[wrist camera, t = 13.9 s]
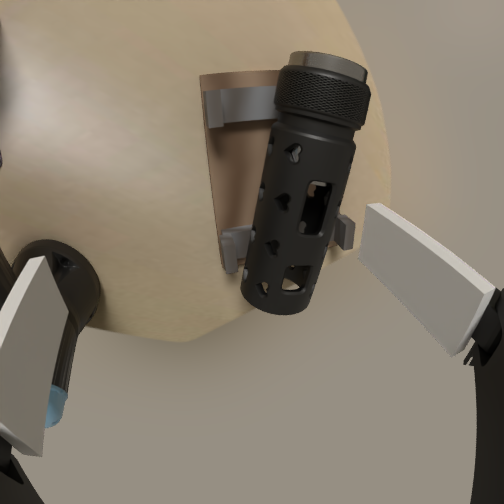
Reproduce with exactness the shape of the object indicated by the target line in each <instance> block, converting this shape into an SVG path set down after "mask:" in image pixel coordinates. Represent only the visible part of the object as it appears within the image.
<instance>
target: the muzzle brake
mask: <svg viewBox="0 0 504 504" xmlns="http://www.w3.org/2000/svg"><path fill="white" fill-rule="evenodd" d="M367 75H368V72H367V70H366V69H365V68H364V67H362V66H361V65H359V64H357V63H355V62H353V61H350V60H347V59H344V58H341V57H338V56H334V55H330V54H325V53H320V52H312V51H297V52H293V53H291V55H290V59H289V64H288V65H286V66H284V67H283V68H282V69H281V70H280V72H279V76H278V81H277V86H276V91H275V96H274V101H273V103H274V104H275V109H276V110H277V111H278V112H279V115H278V121H277V122H275V123H274V124H273V125H272V126H271V131H270V136H269V141H268V147H267V152H266V157H265V162H264V167H263V172H262V177H261V183H260V188H259V193H258V198H257V203H256V209H255V214H254V219H253V224H252V229H251V235H250V240H249V245H248V250H247V256H246V261H245V266H244V271H243V277H242V282H241V288H240V289H241V293H242V295H243V297H244V298H245V299H246V300H247V301H248V302H249V303H250V304H251V305H253V306H254V307H256V308H257V309H260V310H262V311H264V312H267V313H271V314H276V315H292V314H296V313H299V312H301V311H303V310H304V309H305V308H307V306H308V304H309V302H310V299H311V296H312V294H313V291H314V287H315V284H316V282H317V279H318V276H319V273H320V270H321V267H322V264H323V261H324V258H325V255H326V252H327V248H328V245H329V242H330V239H331V236H332V232H333V229H334V226H335V222H336V219H337V216H338V212H339V208H340V205H341V202H342V198H343V195H344V191H345V188H346V184H347V180H348V177H349V173H350V169H351V164H352V161H353V158H354V154H355V150H356V144H355V143H354V141H353V137H354V133H355V131H357V130H361V126H363V125H364V124H365V120H366V115H367V111H368V106H369V102H370V97H371V92H370V89H369V86H368V85H367V84H366V80H367ZM310 184H314V185H315V186H316V189H315V190H314V196H309V194H308V188H309V185H310ZM302 221H304V222H305V223H306V226H305V228H304V233H301V232H300V231H299V224H300V222H302ZM291 265H294V266H295V267H291ZM284 278H286V279H288V280H290V281H292V282H294V283H295V284H297V285H298V286H299V287H300V288H298V289H295V290H284V289H282V283H283V280H284ZM262 282H266V283H268V288H267V289H266V290H267V293H266V292H265V291H264V289H263V286H262Z"/></svg>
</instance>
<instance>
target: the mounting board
mask: <svg viewBox="0 0 504 504" xmlns="http://www.w3.org/2000/svg"><path fill="white" fill-rule="evenodd" d="M279 72H280V70H266V71H242V72H228V73H216V74H207V75H200V87H201V97H202V108H203V118H204V127H205V137H206V146H207V155H208V164H209V172H210V180H211V189H212V197H213V205H214V213H215V220H216V228H217V235H218V243H219V250H220V257H221V264H222V267H223V268H225V271H226V274H230V273H235V272H238V265H240V264H245V261H246V256H247V250H248V245H249V240H250V235H251V229H252V224H253V219H254V214H255V209H256V203H257V198H258V193H259V188H260V183H261V177H262V172H263V167H264V162H265V157H266V152H267V147H268V141H269V136H270V131H271V126H272V125H273V124H274V123H275V122H277V121H278V115H279V112H278V111H277V110H276V109H275V104H274V103H273V101H274V96H275V91H276V86H277V81H278V76H279ZM315 189H316V186H315V185H314V184H310V185H309V188H308V194H309V196H314V190H315ZM305 226H306V223H305V222H304V221H302V222H300V224H299V231H300V232H301V233H304V228H305ZM354 232H355V223H354V222H353V221H352V220H351V219H350V218H348V217H347V216H346V215H341V214H340V208H339V212H338V216H337V219H336V222H335V226H334V229H333V232H332V236H331V239H330V242H329V245H328V247H332V246H337V244H338V245H339V246H340V247H341V248H342V249H343V250H349V249H353V241H354Z"/></svg>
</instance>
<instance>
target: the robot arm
mask: <svg viewBox="0 0 504 504" xmlns="http://www.w3.org/2000/svg"><path fill="white" fill-rule="evenodd" d="M358 259H359V261H361V262H362V263H363V264H364V265H365V266H366V267H367V268H368V269H369V270H370V271H371V272H372V273H373V274H374V275H375V276H376V277H377V278H378V279H379V280H380V281H381V282H382V283H383V284H384V285H385V286H386V287H387V288H388V289H389V290H390V291H391V292H392V293H393V294H394V296H395V297H397V299H398V300H399V301H400V302H401V303H402V304H403V305H404V306H405V307H406V308H407V309H408V310H409V311H410V312H411V313H412V314H413V315H414V317H416V319H417V320H418V321H419V322H420V323H421V324H422V325H423V326H424V327H425V328H426V329H427V331H428V332H429V333H430V334H431V335H432V336H433V337H434V338H435V339H436V341H437V342H438V343H439V344H440V345H441V346H442V347H443V348H444V350H446V352H447V353H448V354H449V355H450V356H451V357H453V356H455V355H456V354H458V353H459V352H461V351H463V350H464V349H465V347H466V345H467V344H468V342H469V340H470V338H471V337H472V338H473V339H474V340H475V343H474V345H473V346H472V348H471V350H470V351H469V353H468V355H467V356H466V358H465V359H464V365H466V364H467V362H468V361H469V359H470V358H471V357H473V359H472V360H471V362H470V364H469V365H470V366H474V372H475V385H476V406H477V438H476V440H477V441H476V458H475V471H474V480H473V488H472V496H471V502H470V504H504V288H503V289H502V291H500V290H498V289H497V288H496V287H495V286H494V285H492V284H491V283H490V282H489V281H488V280H486V279H485V278H484V277H483V276H481V275H480V274H479V273H478V272H477V271H475V270H474V269H473V268H471V267H470V266H469V265H468V264H466V263H465V262H464V261H463V260H461V259H460V258H459V257H458V256H456V255H454V254H453V253H452V252H451V251H449V250H448V249H447V248H445V247H444V246H443V245H441V244H440V243H439V242H437V241H436V240H434V239H433V238H432V237H430V236H429V235H427V234H426V233H424V232H423V231H421V230H420V229H419V228H417V227H416V226H414V225H413V224H411V223H410V222H408V221H407V220H405V219H404V218H402V217H401V216H399V215H398V214H396V213H395V212H393V211H392V210H390V209H389V208H387V207H386V206H384V205H382V204H381V203H374V204H366V211H365V219H364V226H363V232H362V239H361V245H360V251H359V257H358ZM99 297H100V285H99V281H98V278H97V275H96V273H95V271H94V269H93V267H92V266H91V264H90V263H89V262H88V261H87V259H86V258H85V257H84V256H83V255H82V254H80V253H79V252H78V251H77V250H75V249H74V248H72V247H70V246H69V245H67V244H64V243H62V242H58V241H54V240H38V241H34V242H32V243H30V244H28V245H27V246H25V247H24V248H23V249H22V250H21V251H20V253H19V254H18V256H17V257H16V259H15V260H14V262H13V264H12V267H10V265H9V263H8V261H7V259H6V258H5V256H4V254H3V252H2V250H1V248H0V504H44V502H43V501H42V499H41V498H40V497H39V495H38V494H37V492H36V490H35V489H34V487H33V486H32V484H31V483H30V481H29V479H28V478H27V476H26V474H25V473H24V471H23V469H22V468H21V466H20V464H19V462H18V461H17V459H16V458H15V457H14V455H12V454H11V449H12V446H13V447H14V448H15V449H17V450H18V451H19V452H21V453H22V454H24V455H30V456H39V457H42V450H43V439H44V430H45V428H49V427H52V426H54V425H56V424H57V423H58V422H59V421H60V419H61V418H62V413H63V409H64V405H65V401H66V400H67V398H68V394H67V393H68V387H69V386H68V385H69V380H70V374H71V368H72V362H73V357H74V352H75V347H76V342H77V338H78V335H79V334H80V332H81V331H82V330H83V328H84V327H85V325H86V324H87V323H88V322H89V321H90V320H91V319H92V317H93V316H94V314H95V312H96V309H97V305H98V301H99Z"/></svg>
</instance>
